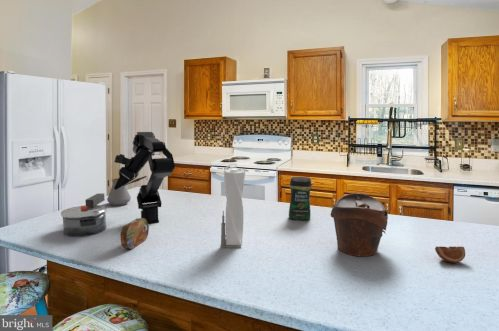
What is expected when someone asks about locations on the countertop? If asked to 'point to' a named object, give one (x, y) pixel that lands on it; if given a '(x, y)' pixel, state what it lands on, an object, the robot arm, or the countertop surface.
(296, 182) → the coffee jar
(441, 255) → the fruit slice
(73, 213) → the cooker lid
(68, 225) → the cooker pot
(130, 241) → the tin
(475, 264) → the countertop surface
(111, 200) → the coffee pot
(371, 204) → the brown flower pot
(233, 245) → the skyscraper
